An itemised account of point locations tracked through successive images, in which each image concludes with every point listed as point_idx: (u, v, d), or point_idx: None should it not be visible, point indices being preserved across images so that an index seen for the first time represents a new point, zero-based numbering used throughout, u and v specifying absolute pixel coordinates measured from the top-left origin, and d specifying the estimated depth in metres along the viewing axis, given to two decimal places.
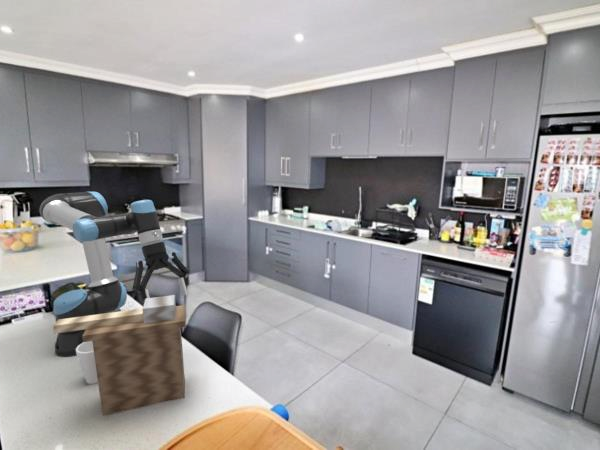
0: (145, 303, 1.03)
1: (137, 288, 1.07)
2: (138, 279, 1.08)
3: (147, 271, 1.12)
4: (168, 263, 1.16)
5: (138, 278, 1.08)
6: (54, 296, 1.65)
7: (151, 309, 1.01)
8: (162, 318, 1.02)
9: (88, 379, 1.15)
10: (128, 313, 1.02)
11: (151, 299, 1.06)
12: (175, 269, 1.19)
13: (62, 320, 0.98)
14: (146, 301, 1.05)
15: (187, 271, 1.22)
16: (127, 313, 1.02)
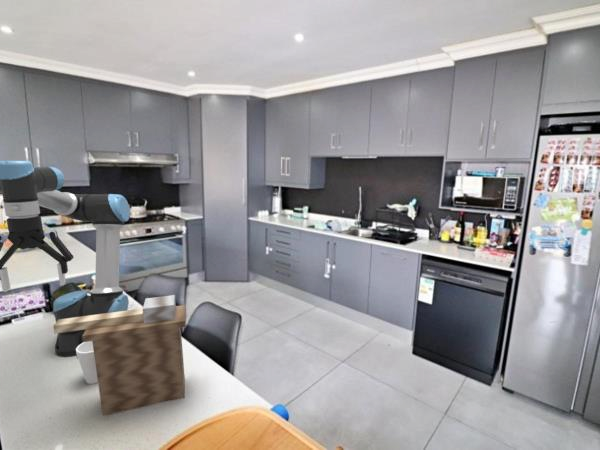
0: (145, 303, 1.03)
1: None
2: None
3: None
4: (38, 245, 0.93)
5: None
6: (54, 296, 1.65)
7: (151, 309, 1.01)
8: (162, 318, 1.02)
9: (88, 379, 1.15)
10: (128, 313, 1.02)
11: (151, 299, 1.06)
12: (50, 253, 0.95)
13: (62, 320, 0.98)
14: (146, 301, 1.05)
15: (68, 258, 0.97)
16: (127, 313, 1.02)
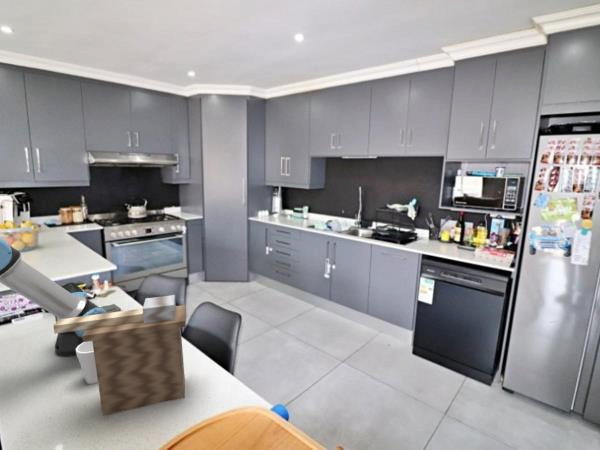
0: (145, 303, 1.03)
1: None
2: None
3: None
4: None
5: None
6: None
7: (151, 309, 1.01)
8: (162, 318, 1.02)
9: (88, 379, 1.15)
10: (128, 313, 1.02)
11: (151, 299, 1.06)
12: None
13: (62, 320, 0.98)
14: (146, 301, 1.05)
15: None
16: (127, 313, 1.02)
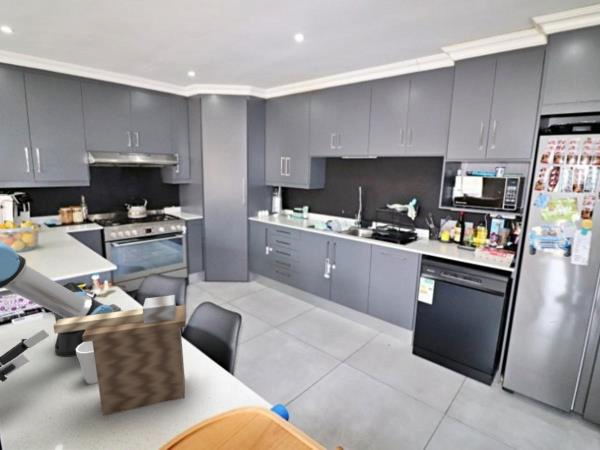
0: (145, 303, 1.03)
1: None
2: None
3: None
4: None
5: None
6: None
7: (151, 309, 1.01)
8: (162, 318, 1.02)
9: (88, 379, 1.15)
10: (128, 313, 1.02)
11: (151, 299, 1.06)
12: None
13: (62, 320, 0.98)
14: (146, 301, 1.05)
15: None
16: (127, 313, 1.02)
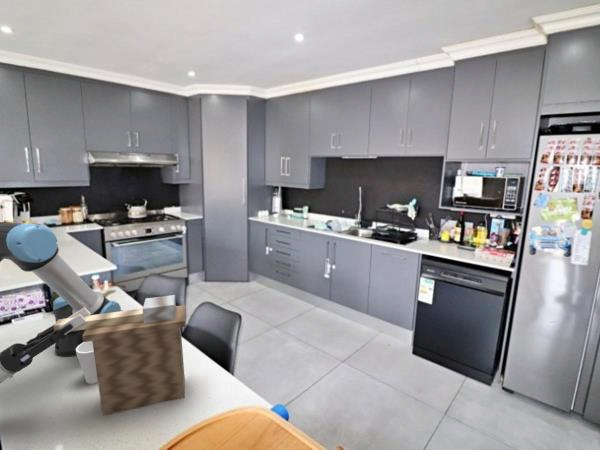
0: (145, 303, 1.03)
1: None
2: None
3: None
4: None
5: None
6: (54, 296, 1.65)
7: (151, 309, 1.01)
8: (162, 318, 1.02)
9: (88, 379, 1.15)
10: (128, 313, 1.02)
11: (151, 299, 1.06)
12: None
13: (62, 320, 0.98)
14: (146, 301, 1.05)
15: (56, 342, 0.93)
16: (127, 313, 1.02)
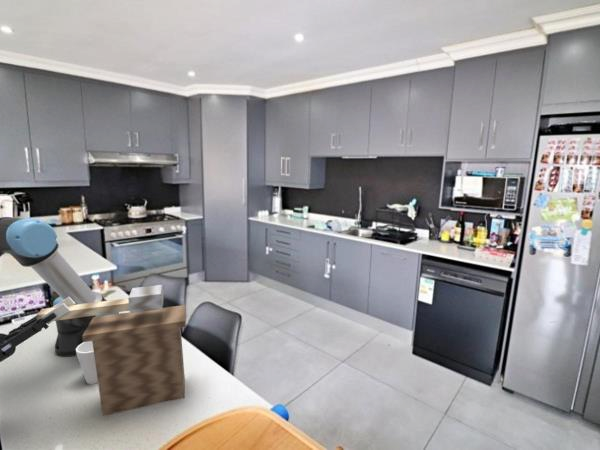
0: (131, 292, 1.01)
1: None
2: None
3: None
4: None
5: None
6: (54, 296, 1.65)
7: (138, 298, 0.99)
8: (149, 307, 1.00)
9: (88, 379, 1.15)
10: (114, 302, 1.00)
11: (138, 289, 1.04)
12: None
13: (46, 309, 0.95)
14: (132, 290, 1.03)
15: None
16: (112, 303, 1.00)
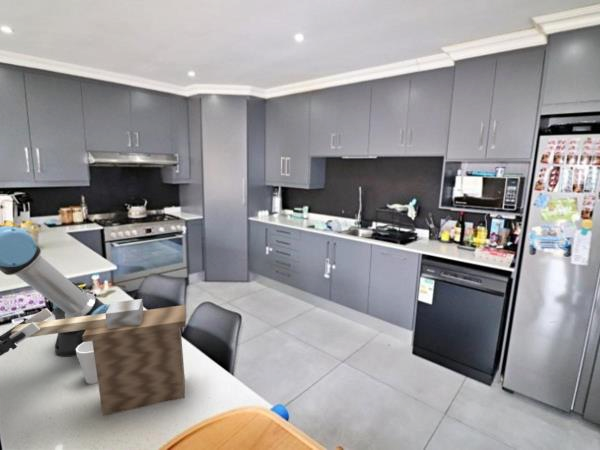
0: (109, 308, 1.00)
1: None
2: None
3: None
4: None
5: None
6: None
7: (115, 314, 0.97)
8: (126, 323, 0.99)
9: (88, 379, 1.15)
10: (92, 318, 0.99)
11: (116, 303, 1.03)
12: None
13: (21, 325, 0.94)
14: (111, 305, 1.02)
15: None
16: (90, 318, 0.99)
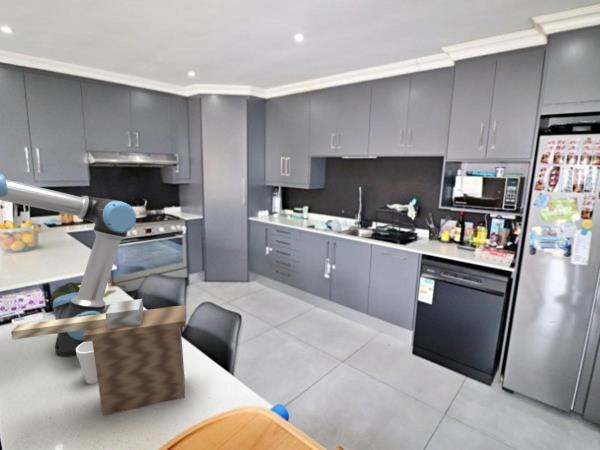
0: (109, 308, 1.00)
1: None
2: None
3: None
4: None
5: None
6: (54, 296, 1.65)
7: (115, 314, 0.97)
8: (126, 323, 0.99)
9: (88, 379, 1.15)
10: (92, 318, 0.99)
11: (116, 303, 1.03)
12: None
13: (21, 325, 0.94)
14: (111, 305, 1.02)
15: None
16: (90, 318, 0.99)
